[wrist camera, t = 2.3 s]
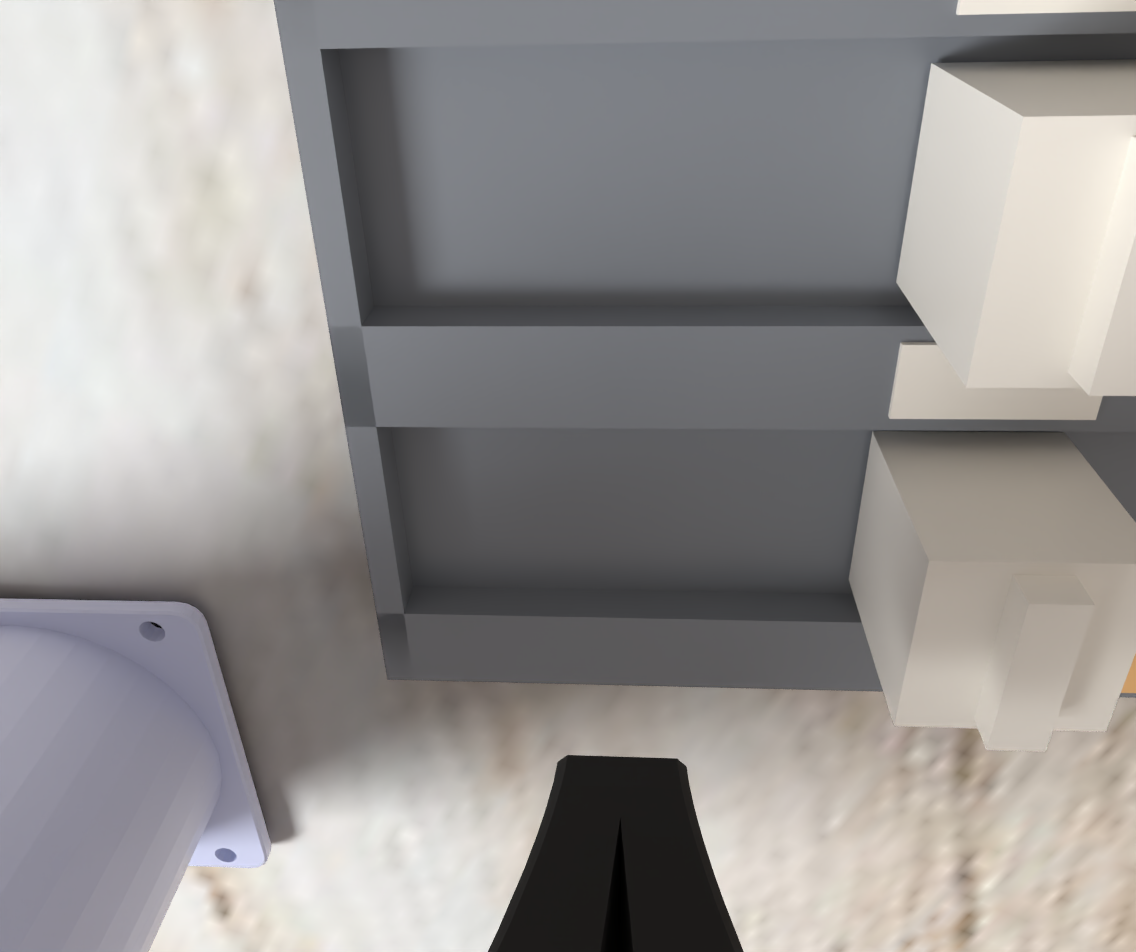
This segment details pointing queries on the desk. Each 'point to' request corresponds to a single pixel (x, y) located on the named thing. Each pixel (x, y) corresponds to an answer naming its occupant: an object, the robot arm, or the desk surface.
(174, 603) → the robot arm
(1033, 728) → the tab
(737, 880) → the desk surface
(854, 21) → the switch bank
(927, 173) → the tab
